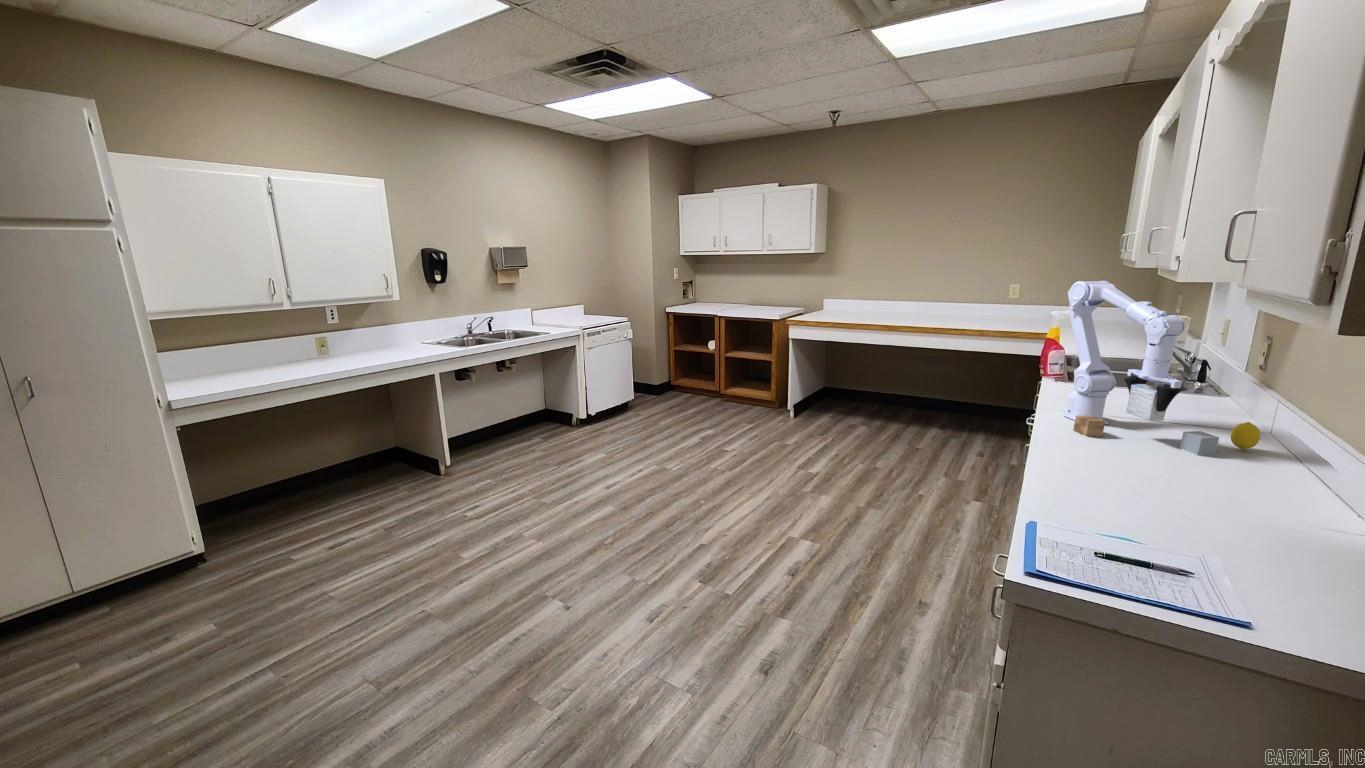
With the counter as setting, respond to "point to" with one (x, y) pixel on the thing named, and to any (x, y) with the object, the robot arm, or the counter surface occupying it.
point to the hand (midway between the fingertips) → (1147, 406)
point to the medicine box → (1144, 402)
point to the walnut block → (1089, 425)
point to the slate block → (1199, 443)
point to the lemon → (1245, 435)
